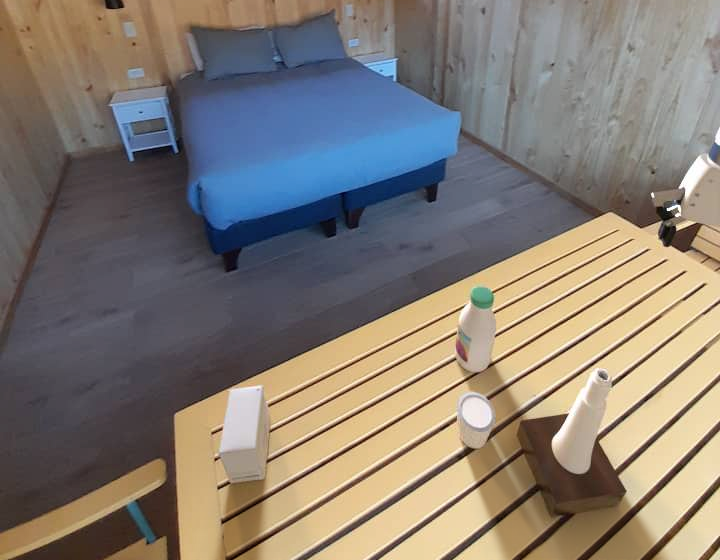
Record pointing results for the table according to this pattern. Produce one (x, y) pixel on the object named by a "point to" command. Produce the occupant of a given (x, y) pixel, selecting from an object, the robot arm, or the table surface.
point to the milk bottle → (476, 331)
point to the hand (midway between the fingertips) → (700, 249)
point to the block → (561, 485)
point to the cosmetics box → (245, 435)
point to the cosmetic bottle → (583, 424)
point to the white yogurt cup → (474, 419)
